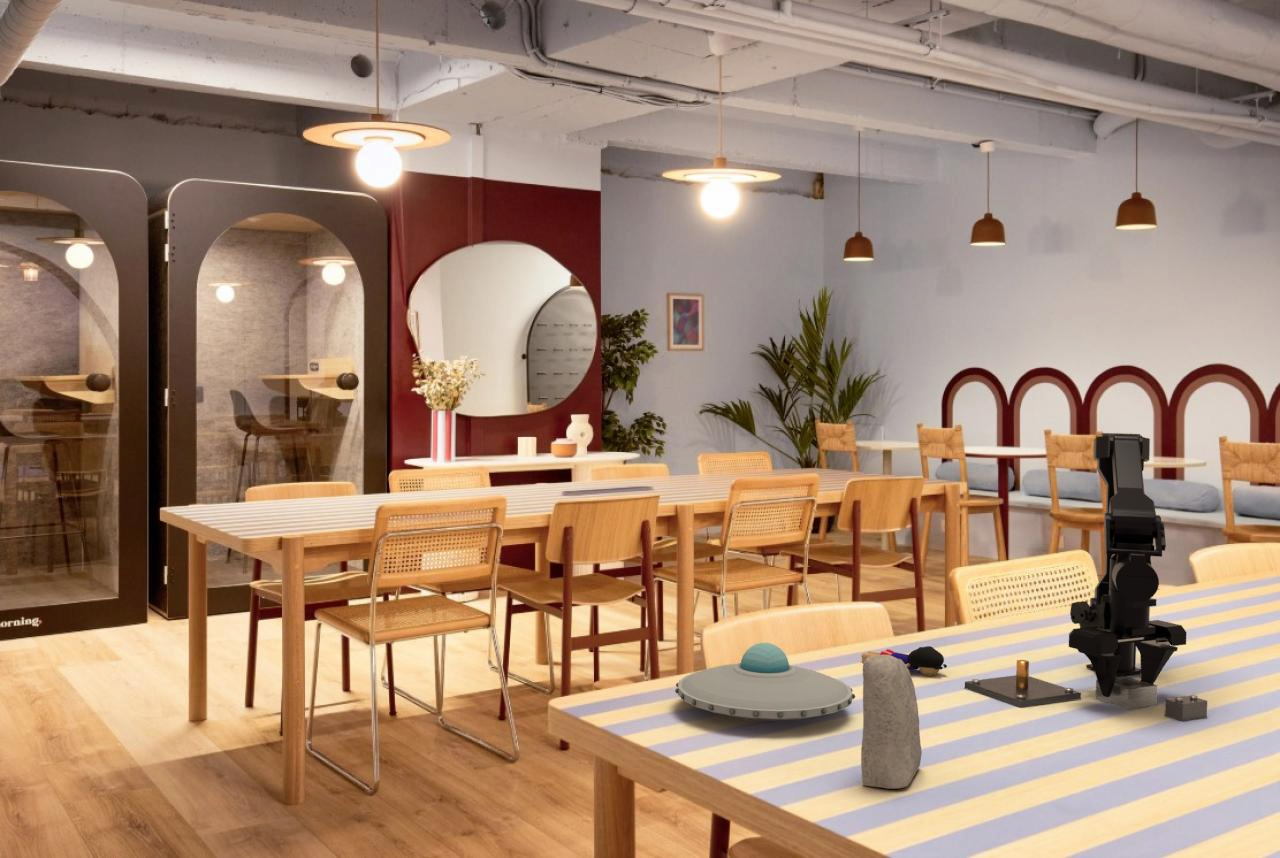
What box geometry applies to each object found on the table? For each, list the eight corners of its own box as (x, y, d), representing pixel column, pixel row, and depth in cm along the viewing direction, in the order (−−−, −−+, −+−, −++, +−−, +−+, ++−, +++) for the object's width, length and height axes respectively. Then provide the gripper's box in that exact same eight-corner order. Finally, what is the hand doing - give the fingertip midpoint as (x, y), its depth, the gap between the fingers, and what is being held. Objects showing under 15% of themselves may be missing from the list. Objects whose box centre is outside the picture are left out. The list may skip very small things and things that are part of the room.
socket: (1124, 695, 186) (1124, 676, 186) (1156, 705, 180) (1157, 685, 180) (1095, 699, 183) (1096, 679, 183) (1127, 709, 178) (1128, 689, 178)
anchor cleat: (1189, 711, 177) (1189, 692, 177) (1206, 717, 174) (1207, 697, 174) (1164, 715, 175) (1165, 696, 175) (1182, 721, 172) (1183, 701, 172)
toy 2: (848, 670, 202) (928, 683, 191) (847, 643, 202) (927, 654, 191) (881, 661, 209) (960, 673, 199) (881, 634, 209) (959, 645, 199)
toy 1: (637, 712, 172) (638, 643, 172) (744, 680, 192) (745, 617, 191) (788, 751, 155) (789, 674, 155) (888, 711, 175) (890, 643, 174)
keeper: (1023, 680, 194) (1024, 649, 194) (1080, 699, 183) (1081, 666, 183) (964, 688, 189) (965, 656, 188) (1020, 707, 178) (1021, 673, 178)
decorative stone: (883, 760, 152) (886, 642, 152) (930, 768, 149) (933, 648, 149) (853, 785, 143) (856, 659, 142) (903, 794, 140) (906, 666, 139)
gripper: (1131, 578, 192) (1127, 675, 193) (1042, 585, 184) (1039, 687, 185) (1190, 589, 182) (1186, 692, 183) (1100, 598, 174) (1096, 705, 175)
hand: (1126, 693), depth 182 cm, fingers open, 8 cm apart
